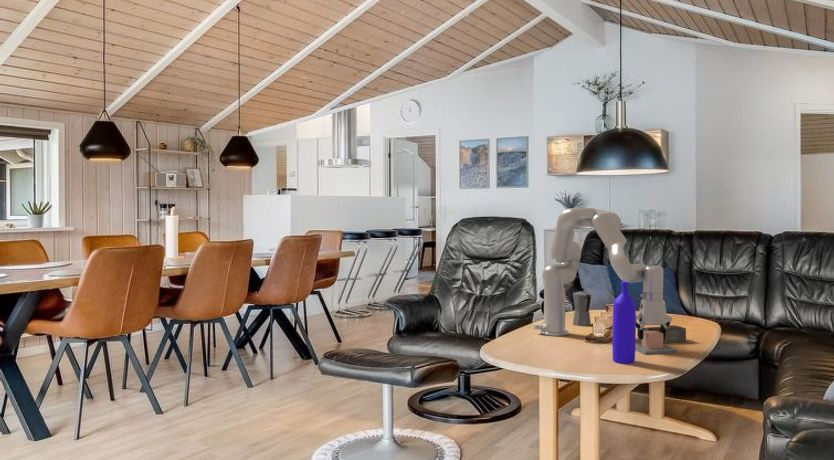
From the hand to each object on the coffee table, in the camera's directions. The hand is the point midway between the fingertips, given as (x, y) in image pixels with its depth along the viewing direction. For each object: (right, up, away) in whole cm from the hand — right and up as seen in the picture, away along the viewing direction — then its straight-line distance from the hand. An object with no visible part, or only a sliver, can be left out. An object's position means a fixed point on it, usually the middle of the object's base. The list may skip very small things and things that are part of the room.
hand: (651, 338), depth 270 cm
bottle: (-17, -6, -20) cm, 27 cm away
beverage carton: (+10, -4, +17) cm, 20 cm away
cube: (0, -3, 0) cm, 3 cm away
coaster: (0, -5, 0) cm, 5 cm away
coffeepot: (-14, -3, +55) cm, 57 cm away
